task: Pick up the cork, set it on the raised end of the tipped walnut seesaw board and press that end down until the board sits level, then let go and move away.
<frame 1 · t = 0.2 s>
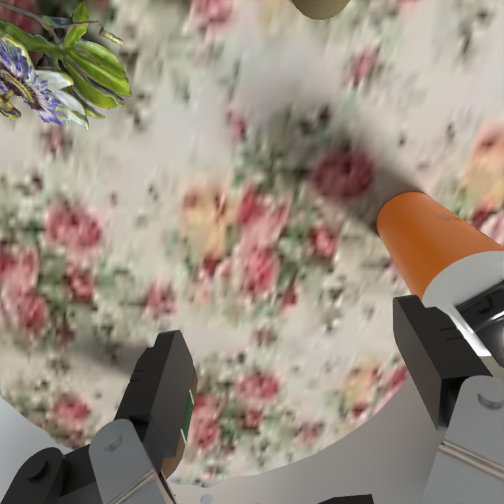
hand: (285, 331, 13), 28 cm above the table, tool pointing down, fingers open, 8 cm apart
beer bottle: (175, 372, 55), on the table
shaker bottle: (405, 218, 41), on the table
passion flower: (71, 61, 34), on the table
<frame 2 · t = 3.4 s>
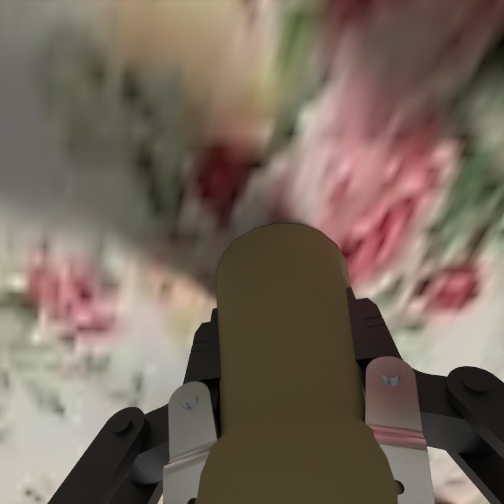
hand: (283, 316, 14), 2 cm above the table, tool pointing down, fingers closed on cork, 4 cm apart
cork: (281, 280, 16), on the table, touching gripper
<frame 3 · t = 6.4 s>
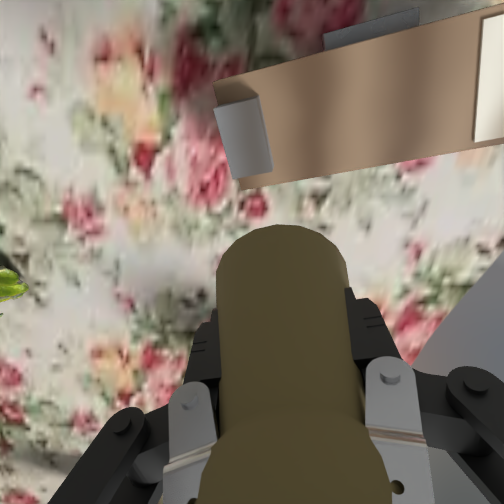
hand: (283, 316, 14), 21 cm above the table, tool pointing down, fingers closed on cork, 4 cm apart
seesaw board: (400, 102, 22), point 7 cm above the table, hinge at -8.0°
pivot stand: (371, 90, 29), on the table
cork: (281, 281, 16), point 19 cm above the table, touching gripper
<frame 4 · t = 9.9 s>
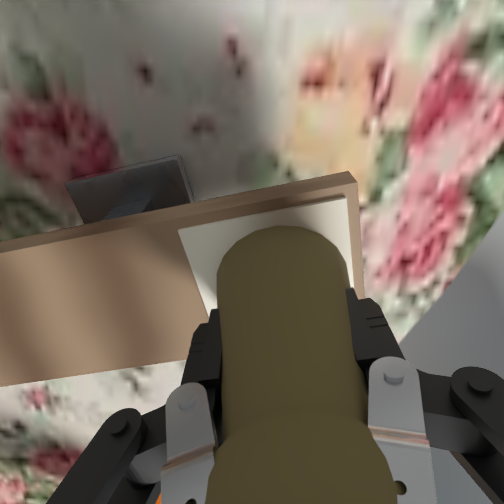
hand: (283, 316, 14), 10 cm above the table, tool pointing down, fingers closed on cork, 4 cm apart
seesaw board: (113, 309, 17), point 7 cm above the table, hinge at 0.2°, touching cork
pivot stand: (153, 238, 23), on the table
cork: (281, 282, 16), point 7 cm above the table, touching gripper, seesaw board
when the fingers open (10 cm above the table, at t = 9.9 s): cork stays where it is, resting on seesaw board.
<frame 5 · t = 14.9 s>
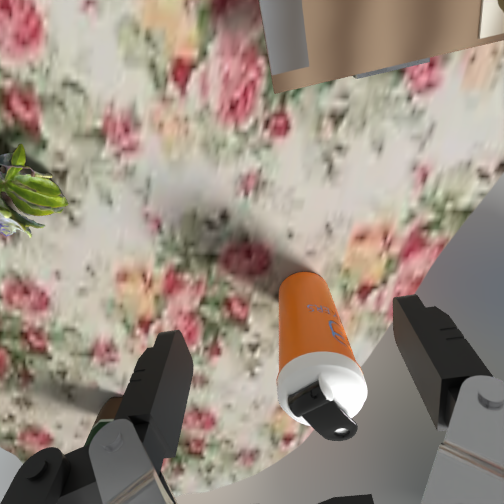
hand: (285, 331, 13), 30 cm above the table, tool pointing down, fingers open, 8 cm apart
seesaw board: (420, 0, 26), point 7 cm above the table, hinge at 0.2°, touching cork
pivot stand: (388, 11, 33), on the table
beer bottle: (124, 408, 63), on the table
shaker bottle: (303, 291, 49), on the table
passion flower: (18, 178, 42), on the table
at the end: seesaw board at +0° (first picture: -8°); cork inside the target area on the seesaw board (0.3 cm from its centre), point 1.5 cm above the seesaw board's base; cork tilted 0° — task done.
